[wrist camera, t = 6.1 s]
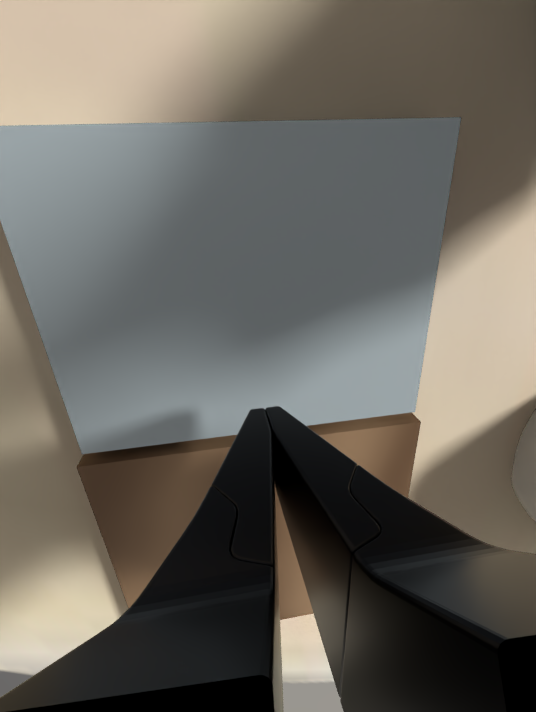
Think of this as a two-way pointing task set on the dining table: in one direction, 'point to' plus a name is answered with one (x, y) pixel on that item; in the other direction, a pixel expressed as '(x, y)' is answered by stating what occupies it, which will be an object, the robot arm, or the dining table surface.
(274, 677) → the robot arm
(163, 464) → the walnut floor board
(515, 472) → the lumpy-topped squat cylinder
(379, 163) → the floor tile
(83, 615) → the dining table surface
